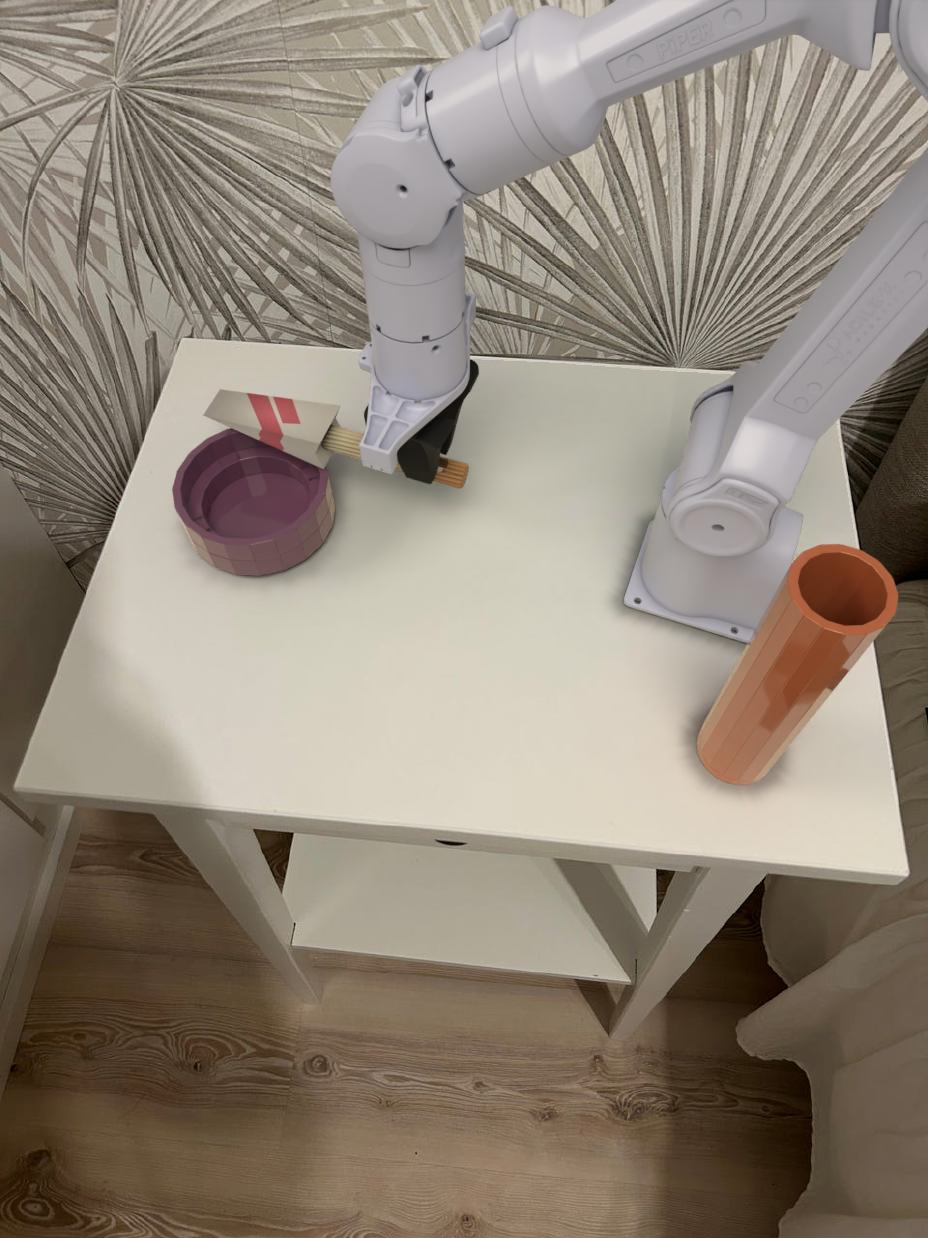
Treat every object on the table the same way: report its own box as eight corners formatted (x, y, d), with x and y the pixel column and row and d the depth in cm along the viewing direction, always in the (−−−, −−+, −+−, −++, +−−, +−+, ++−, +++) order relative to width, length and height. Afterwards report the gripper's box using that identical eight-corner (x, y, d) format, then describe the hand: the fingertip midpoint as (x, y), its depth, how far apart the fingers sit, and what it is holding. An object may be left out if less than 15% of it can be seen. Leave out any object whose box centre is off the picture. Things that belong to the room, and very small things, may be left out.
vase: (779, 728, 60) (904, 561, 42) (765, 796, 57) (890, 648, 40) (706, 704, 61) (798, 531, 43) (688, 770, 58) (779, 614, 41)
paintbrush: (219, 369, 66) (474, 445, 63) (227, 395, 68) (472, 470, 66) (194, 405, 64) (455, 486, 61) (202, 431, 67) (454, 510, 64)
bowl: (359, 484, 70) (352, 446, 67) (296, 598, 65) (284, 564, 61) (233, 447, 73) (219, 407, 69) (162, 554, 67) (143, 518, 63)
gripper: (401, 218, 56) (414, 378, 68) (299, 376, 49) (333, 523, 61) (507, 243, 55) (502, 402, 66) (417, 409, 48) (429, 553, 60)
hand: (427, 462), depth 64 cm, fingers closed on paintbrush, 2 cm apart
